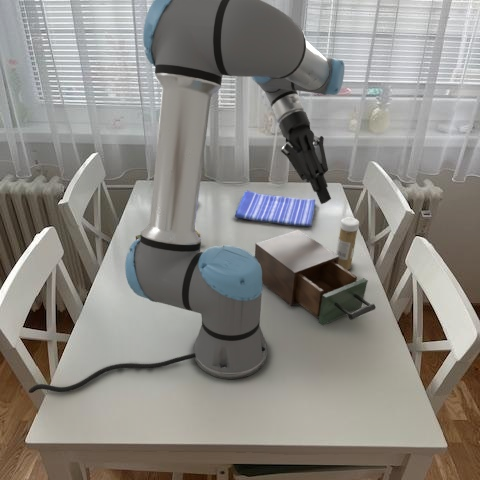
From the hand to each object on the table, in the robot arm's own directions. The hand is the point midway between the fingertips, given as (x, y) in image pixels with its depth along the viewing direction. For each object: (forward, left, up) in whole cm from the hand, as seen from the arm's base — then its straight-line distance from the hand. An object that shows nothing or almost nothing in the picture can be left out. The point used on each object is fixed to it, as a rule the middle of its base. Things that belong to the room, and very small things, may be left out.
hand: (326, 201), depth 127 cm
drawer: (-15, -21, -15) cm, 30 cm away
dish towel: (+5, +26, -16) cm, 31 cm away
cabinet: (-15, -8, -15) cm, 23 cm away
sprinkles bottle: (+1, -9, -16) cm, 18 cm away
